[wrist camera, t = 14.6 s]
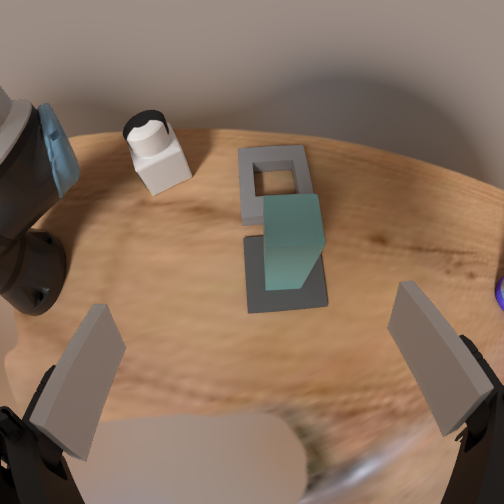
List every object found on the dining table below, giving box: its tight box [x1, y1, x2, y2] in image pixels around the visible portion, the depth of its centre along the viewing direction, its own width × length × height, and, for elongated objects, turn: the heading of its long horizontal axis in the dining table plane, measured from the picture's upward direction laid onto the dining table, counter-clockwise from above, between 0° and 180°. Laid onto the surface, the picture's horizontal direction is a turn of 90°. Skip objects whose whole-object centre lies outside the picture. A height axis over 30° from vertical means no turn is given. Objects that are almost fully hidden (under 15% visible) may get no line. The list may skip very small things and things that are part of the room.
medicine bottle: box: [123, 110, 192, 196], centre depth 36 cm, size 7×7×12 cm
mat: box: [243, 236, 328, 313], centre depth 35 cm, size 10×10×1 cm
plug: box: [263, 194, 326, 290], centre depth 28 cm, size 4×4×15 cm
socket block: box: [238, 145, 314, 226], centre depth 38 cm, size 10×12×2 cm
